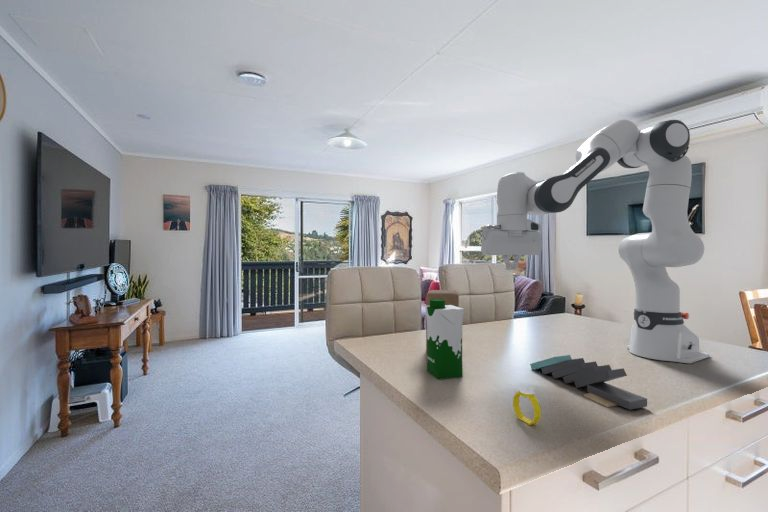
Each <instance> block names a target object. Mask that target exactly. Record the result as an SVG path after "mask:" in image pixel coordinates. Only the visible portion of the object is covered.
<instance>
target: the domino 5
mask: <svg viewBox="0 0 768 512" xmlns="http://www.w3.org/2000/svg"><path fill="white" fill-rule="evenodd" d="M624 377H628V376H627V373H626V370H625V368H618V369H617V368H616V369H612V370H609V371H604V372H601V373H598V374H595V375H592V376H588V377H585V378H582V379H579V380H575V381H574V385H575V387H576V389H578V388H584V387H587V385H589V384H596V383H602V382H604V383H606V382H610V381H613V380H618V379H620V378H624Z"/></svg>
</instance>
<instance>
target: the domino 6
mask: <svg viewBox="0 0 768 512" xmlns="http://www.w3.org/2000/svg"><path fill="white" fill-rule="evenodd" d="M586 387H587V389H586V390H587V393H592V394H594V395H596V396H599V397H601V398H603V399H606V400H608V401H610V402H613V403H615V404H617V405H618V406H620V407H623V408H625V409H627V410H629V411H631V410H634V409H635V410H636V409H640V408H645V407H648V398H646V397H643V396H642V395H638V394H635V393H633V392H630V391H629V390H628V391H627V390H625V389H623V388H620V387H617V386H614V385H613V384H610V383H606V382H602V383H596V384H589V385H587V386H586Z"/></svg>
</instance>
